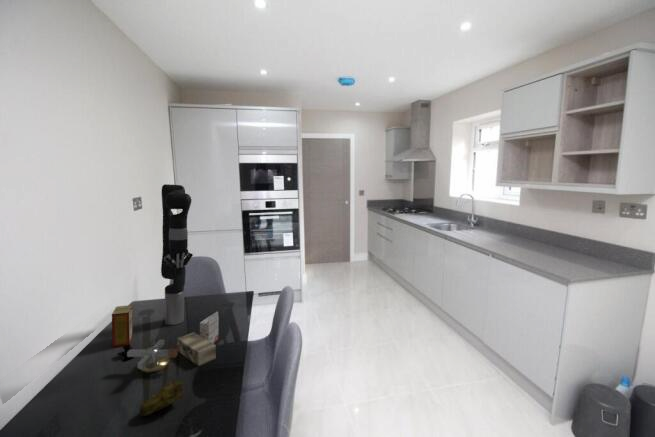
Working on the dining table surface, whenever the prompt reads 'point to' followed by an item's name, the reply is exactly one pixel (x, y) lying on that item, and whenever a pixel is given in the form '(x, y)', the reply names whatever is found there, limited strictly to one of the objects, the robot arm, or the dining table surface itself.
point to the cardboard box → (196, 348)
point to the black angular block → (125, 353)
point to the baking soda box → (122, 326)
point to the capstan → (153, 357)
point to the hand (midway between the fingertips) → (178, 275)
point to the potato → (162, 398)
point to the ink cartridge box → (210, 328)
